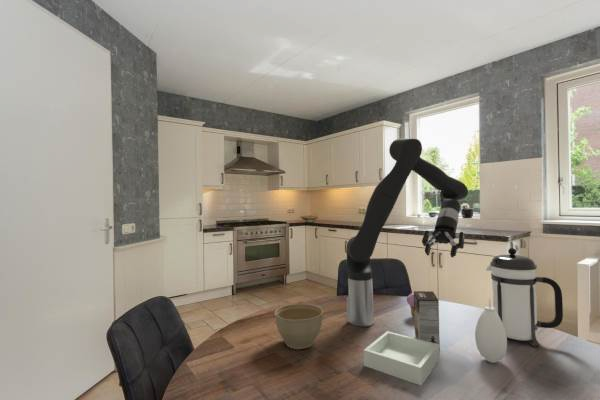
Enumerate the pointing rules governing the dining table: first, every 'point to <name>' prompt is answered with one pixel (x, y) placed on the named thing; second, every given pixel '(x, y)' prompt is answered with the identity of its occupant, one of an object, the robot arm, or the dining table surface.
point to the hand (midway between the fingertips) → (439, 255)
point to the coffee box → (426, 316)
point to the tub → (402, 357)
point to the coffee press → (520, 296)
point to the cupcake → (411, 303)
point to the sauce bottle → (491, 335)
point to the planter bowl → (299, 324)
